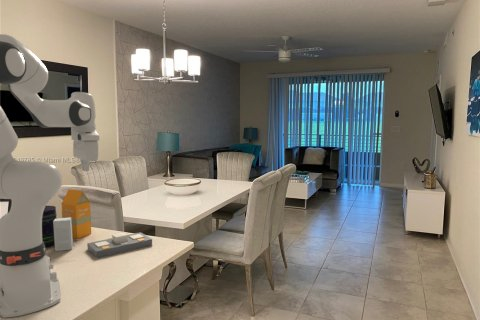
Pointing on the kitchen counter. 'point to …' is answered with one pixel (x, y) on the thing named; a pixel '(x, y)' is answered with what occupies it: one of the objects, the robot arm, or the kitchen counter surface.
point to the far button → (136, 236)
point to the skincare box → (63, 234)
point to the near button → (101, 244)
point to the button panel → (119, 246)
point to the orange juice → (77, 212)
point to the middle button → (119, 238)
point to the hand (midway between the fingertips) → (85, 170)
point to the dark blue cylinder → (48, 226)
